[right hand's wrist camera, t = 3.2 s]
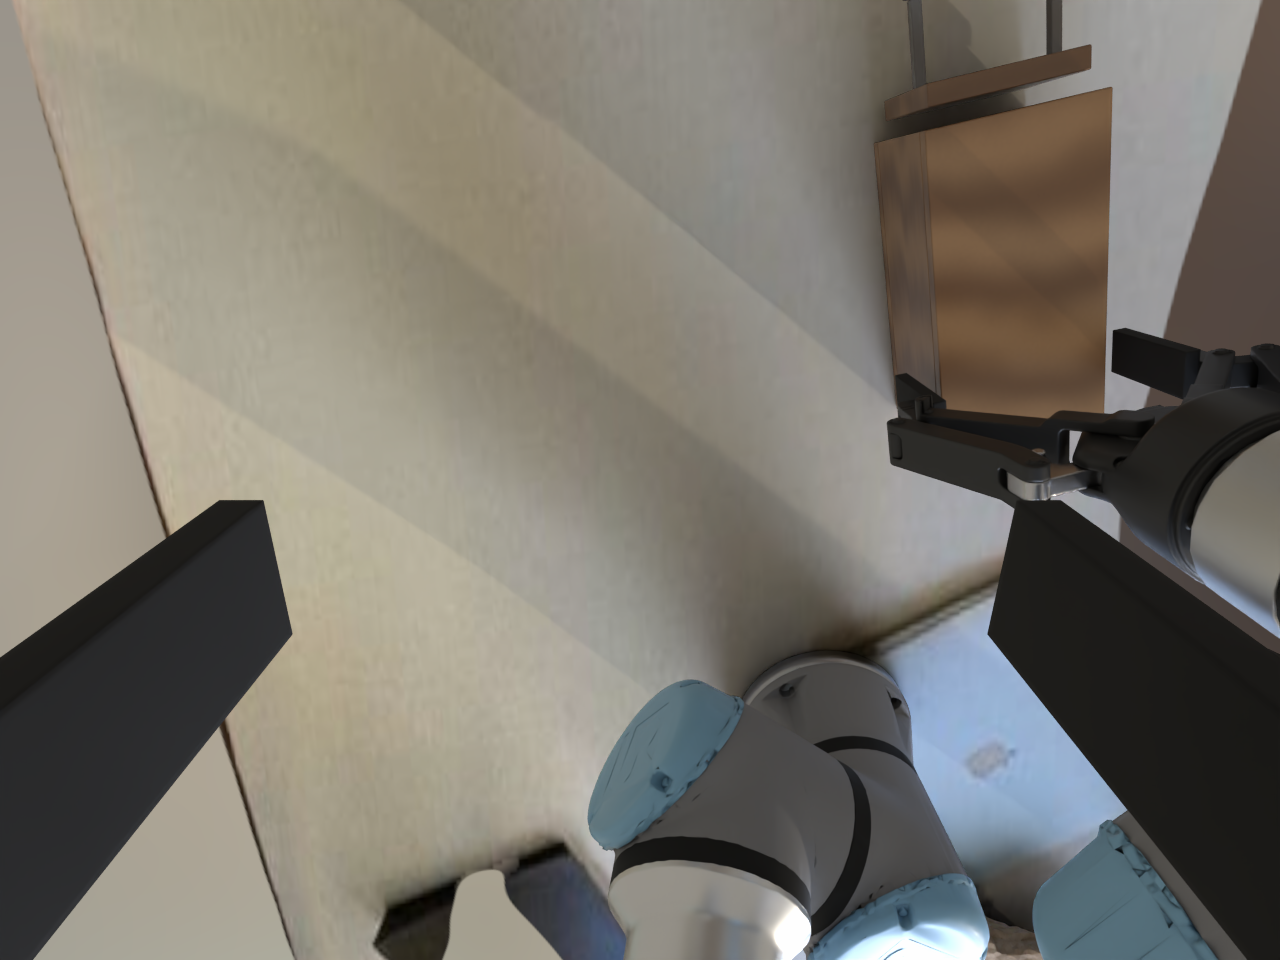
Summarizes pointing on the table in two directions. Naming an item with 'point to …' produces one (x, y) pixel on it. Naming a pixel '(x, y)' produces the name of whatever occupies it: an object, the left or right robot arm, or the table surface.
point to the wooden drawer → (984, 80)
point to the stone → (1011, 943)
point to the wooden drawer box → (1001, 256)
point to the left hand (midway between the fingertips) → (1008, 372)
